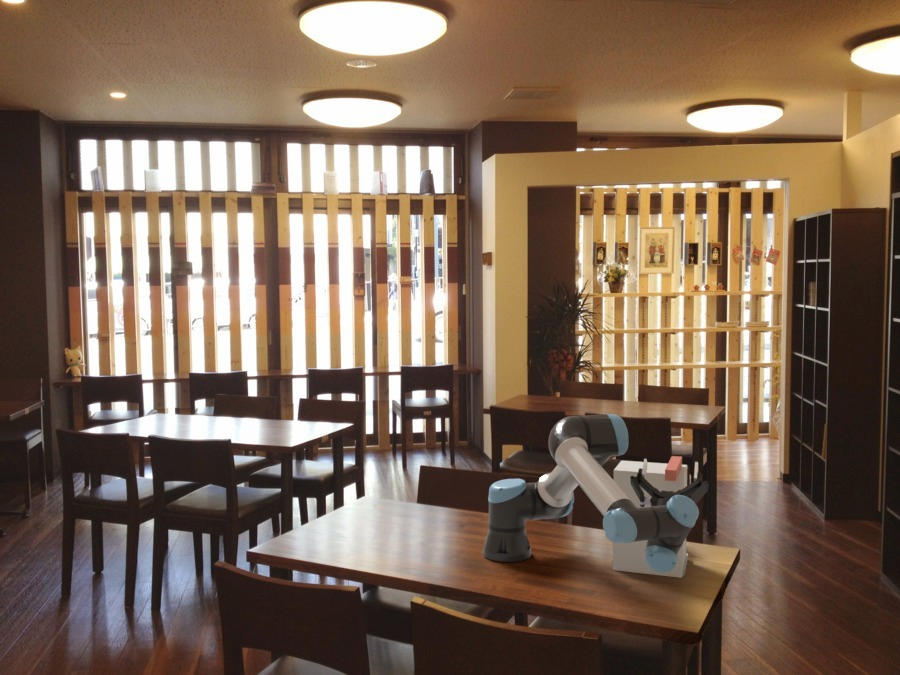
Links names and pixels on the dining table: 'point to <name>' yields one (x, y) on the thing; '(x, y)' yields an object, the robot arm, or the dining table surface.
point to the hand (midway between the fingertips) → (670, 464)
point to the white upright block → (633, 553)
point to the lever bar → (673, 468)
